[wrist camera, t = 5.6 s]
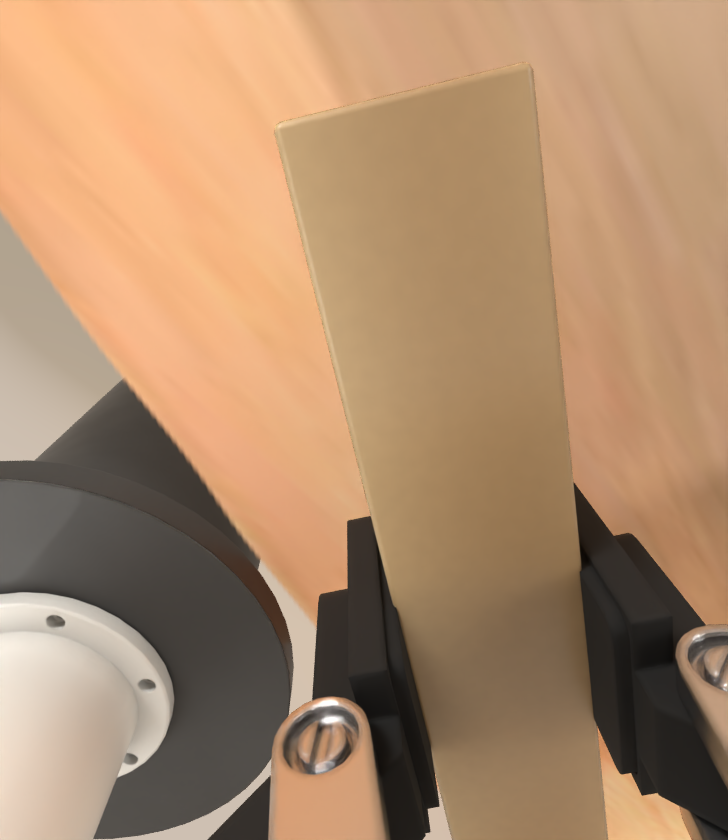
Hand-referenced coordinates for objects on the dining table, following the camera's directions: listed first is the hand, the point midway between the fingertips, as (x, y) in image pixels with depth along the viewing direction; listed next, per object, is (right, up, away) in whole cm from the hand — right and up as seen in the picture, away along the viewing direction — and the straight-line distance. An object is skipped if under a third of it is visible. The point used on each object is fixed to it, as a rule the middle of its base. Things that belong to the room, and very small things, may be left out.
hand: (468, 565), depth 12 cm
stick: (0, 0, 0) cm, 0 cm away
